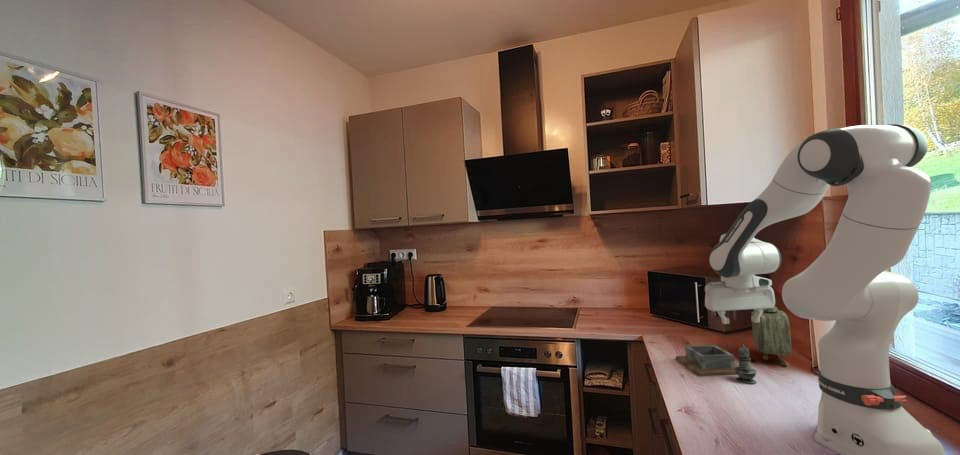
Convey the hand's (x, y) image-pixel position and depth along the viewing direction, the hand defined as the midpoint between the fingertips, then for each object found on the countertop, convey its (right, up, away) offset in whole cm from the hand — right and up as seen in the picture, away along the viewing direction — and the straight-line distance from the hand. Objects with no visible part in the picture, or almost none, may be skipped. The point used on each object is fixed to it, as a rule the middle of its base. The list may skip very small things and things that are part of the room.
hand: (740, 322), depth 114 cm
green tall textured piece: (+22, -18, +14) cm, 32 cm away
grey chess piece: (+1, -19, -1) cm, 19 cm away
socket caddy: (-2, -19, +13) cm, 23 cm away
